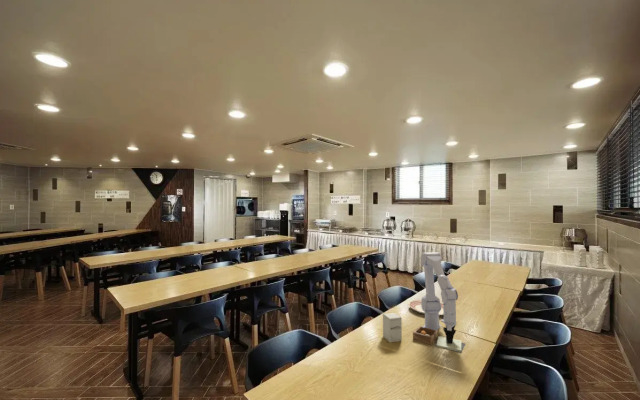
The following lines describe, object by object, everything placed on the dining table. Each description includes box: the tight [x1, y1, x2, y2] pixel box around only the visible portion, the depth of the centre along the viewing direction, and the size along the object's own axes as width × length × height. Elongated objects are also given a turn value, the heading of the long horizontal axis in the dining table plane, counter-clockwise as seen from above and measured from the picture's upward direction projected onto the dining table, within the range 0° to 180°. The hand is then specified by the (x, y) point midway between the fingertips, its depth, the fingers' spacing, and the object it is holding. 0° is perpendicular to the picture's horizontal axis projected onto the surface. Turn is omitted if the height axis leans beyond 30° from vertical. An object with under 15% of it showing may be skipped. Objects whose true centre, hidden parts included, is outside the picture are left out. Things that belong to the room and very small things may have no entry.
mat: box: [434, 342, 466, 354], centre depth 139 cm, size 12×12×1 cm
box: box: [412, 325, 439, 346], centre depth 146 cm, size 10×10×4 cm
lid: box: [436, 335, 463, 353], centre depth 139 cm, size 11×11×4 cm
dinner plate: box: [408, 299, 444, 317], centre depth 187 cm, size 27×27×3 cm
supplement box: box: [382, 312, 403, 343], centre depth 146 cm, size 7×7×13 cm
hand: (450, 339), depth 139 cm, fingers open, 7 cm apart
